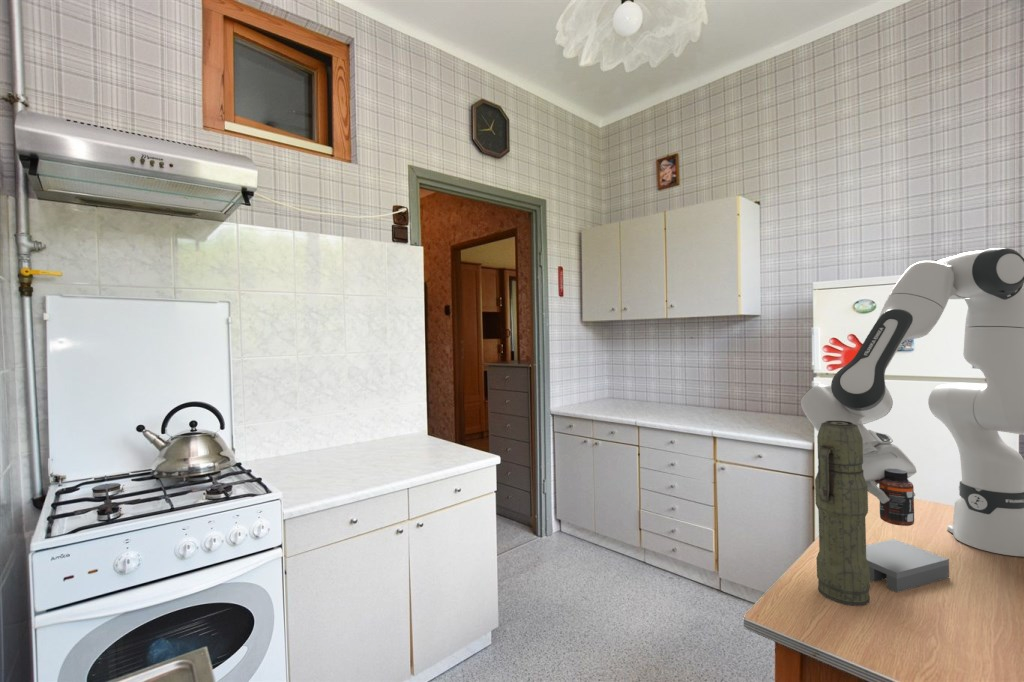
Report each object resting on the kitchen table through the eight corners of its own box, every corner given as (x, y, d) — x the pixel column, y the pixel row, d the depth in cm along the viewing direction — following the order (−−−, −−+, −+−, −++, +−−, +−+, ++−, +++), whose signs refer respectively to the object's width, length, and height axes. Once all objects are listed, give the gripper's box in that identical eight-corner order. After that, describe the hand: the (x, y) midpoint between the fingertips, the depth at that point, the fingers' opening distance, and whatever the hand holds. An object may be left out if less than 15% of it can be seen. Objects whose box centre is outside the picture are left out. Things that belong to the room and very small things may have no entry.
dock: (894, 555, 113) (893, 538, 113) (949, 577, 102) (948, 559, 102) (844, 568, 108) (844, 550, 108) (897, 592, 97) (896, 572, 97)
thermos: (881, 594, 97) (877, 421, 96) (854, 614, 91) (850, 429, 90) (833, 576, 104) (829, 416, 104) (805, 593, 98) (801, 423, 98)
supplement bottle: (921, 527, 102) (920, 474, 102) (889, 526, 103) (888, 473, 103) (904, 517, 108) (903, 467, 108) (874, 516, 109) (873, 466, 109)
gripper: (830, 442, 108) (876, 498, 99) (893, 434, 115) (942, 486, 106) (813, 457, 113) (855, 512, 104) (874, 448, 119) (919, 500, 110)
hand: (899, 499), depth 105 cm, fingers closed on supplement bottle, 6 cm apart
